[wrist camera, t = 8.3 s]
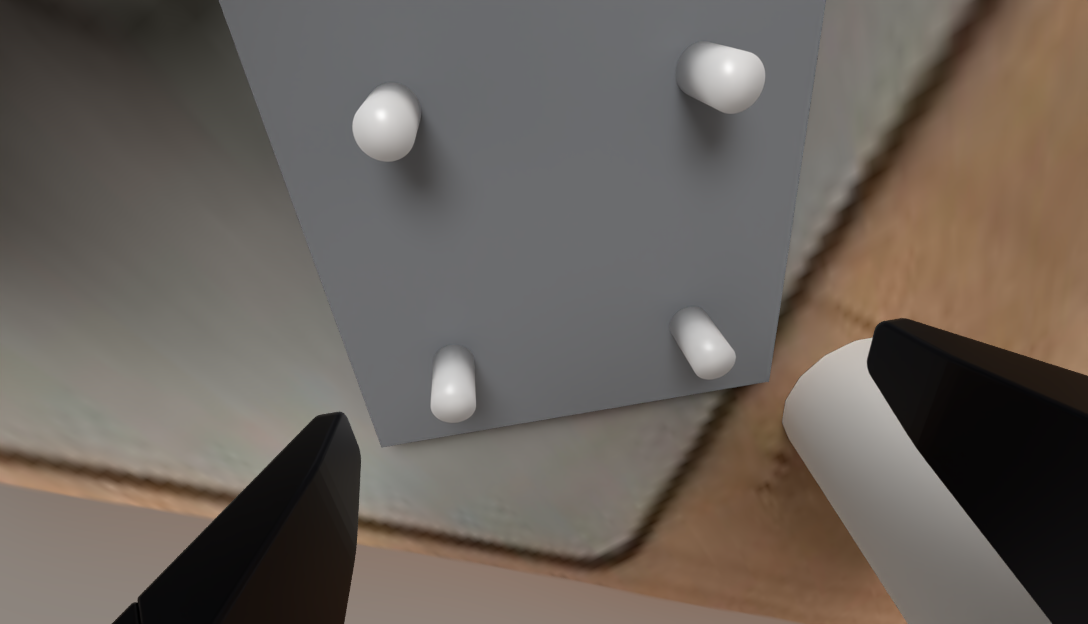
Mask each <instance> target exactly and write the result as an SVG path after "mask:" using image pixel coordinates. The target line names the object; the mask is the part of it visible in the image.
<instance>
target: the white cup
mask: <svg viewBox="0 0 1088 624" xmlns="http://www.w3.org/2000/svg"><path fill="white" fill-rule="evenodd" d="M871 342H872V338H868V339H862V340H857V341H854V342H852V343H850V344H847V345H845V346H843V347H841V348H839V349H837V350H835V351H833V352H831V353H829V354H827V355H825V356H824V357H823V358H821V359H820V360H819V361H818V362H817V363H816V364H815V365H813V366H812V367H811V368H810V369H809V370H808V371H806V372H805V373H804V374H803V375H802V376H801V377H800V378H799V380H798V381H797V383H796V385H795V386H794V388H793V389H792V391H791V393H790V394H789V396H788V397H787V399H786V401H785V407H784V413H783V419H782V424H783V426H784V428H785V431H786V433H787V436H788V438H789V440H790V442H791V443H792V444H793V446H794V448H795V449H796V451H797V452H798V454H799V455H800V457H801V458H802V460H803V462H804V463H805V465H806V466H807V468H808V469H809V471H810V472H811V474H812V476H813V477H814V479H815V480H816V482H817V483H818V485H819V486H820V488H821V490H822V491H823V493H824V494H825V496H826V497H827V499H828V500H829V502H830V504H831V505H832V507H833V508H834V510H835V511H836V513H837V514H838V516H839V518H840V519H841V521H842V522H843V524H844V525H845V527H846V528H847V530H848V532H849V533H850V535H851V536H852V538H853V539H854V541H855V542H856V544H857V546H858V547H859V549H860V550H861V552H862V553H863V555H864V556H865V558H866V560H867V561H868V563H869V564H870V566H871V567H872V569H873V570H874V572H875V574H876V575H877V577H878V578H879V580H880V581H881V583H882V584H883V586H884V587H885V589H886V591H887V592H888V594H889V595H890V597H891V598H892V600H893V601H894V603H895V605H896V606H897V608H898V609H899V611H900V612H901V614H902V615H903V617H904V619H905V620H906V622H907V623H908V624H1052V623H1051V622H1050V620H1049V619H1048V618H1047V617H1046V615H1045V614H1044V613H1043V611H1042V610H1041V609H1040V608H1039V606H1038V605H1037V604H1036V602H1035V601H1034V600H1033V599H1032V597H1031V596H1030V595H1029V593H1028V592H1027V591H1026V590H1025V588H1024V587H1023V586H1022V584H1021V583H1020V582H1019V581H1018V579H1017V578H1016V577H1015V575H1014V574H1013V573H1012V572H1011V570H1010V569H1009V568H1008V566H1007V565H1006V564H1005V563H1004V561H1003V560H1002V559H1001V557H1000V556H999V555H998V553H997V552H996V551H995V550H994V548H993V547H992V546H991V544H990V543H989V542H988V541H987V539H986V538H985V537H984V535H983V534H982V533H981V532H980V530H979V529H978V528H977V526H976V525H975V524H974V523H973V521H972V520H971V519H970V517H969V516H968V515H967V514H966V512H965V511H964V510H963V508H962V507H961V506H960V505H959V503H958V502H957V501H956V499H955V498H954V497H953V496H952V494H951V493H950V492H949V490H948V489H947V488H946V486H945V485H944V484H943V483H942V481H941V480H940V479H939V477H938V476H937V475H936V474H935V472H934V471H933V470H932V468H931V467H930V466H929V465H928V463H927V462H926V461H925V459H924V458H923V457H922V455H921V454H920V453H919V451H918V450H917V449H916V447H915V446H914V444H913V443H912V441H911V440H910V438H909V437H908V435H907V433H906V432H905V430H904V429H903V427H902V425H901V424H900V422H899V421H898V419H897V417H896V416H895V414H894V413H893V411H892V409H891V408H890V406H889V405H888V403H887V402H886V400H885V398H884V397H883V395H882V394H881V392H880V390H879V389H878V387H877V386H876V384H875V382H874V381H873V379H872V378H871V376H870V374H869V372H868V369H867V357H868V353H869V350H870V346H871Z"/></svg>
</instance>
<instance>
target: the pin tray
mask: <svg viewBox="0 0 1088 624" xmlns="http://www.w3.org/2000/svg"><path fill="white" fill-rule="evenodd" d="M219 3H220V5H221V8H222V11H223V14H224V16H225V19H226V22H227V25H228V27H229V30H230V33H231V36H232V38H233V41H234V44H235V46H236V49H237V52H238V55H239V57H240V60H241V63H242V66H243V68H244V71H245V74H246V77H247V79H248V82H249V85H250V88H251V90H252V93H253V96H254V99H255V101H256V104H257V107H258V110H259V112H260V115H261V118H262V121H263V123H264V126H265V129H266V132H267V134H268V137H269V140H270V143H271V145H272V148H273V151H274V154H275V156H276V159H277V162H278V165H279V167H280V170H281V173H282V176H283V178H284V181H285V184H286V187H287V189H288V192H289V195H290V198H291V200H292V203H293V206H294V209H295V211H296V214H297V217H298V220H299V222H300V225H301V228H302V230H303V233H304V236H305V239H306V241H307V244H308V247H309V250H310V252H311V255H312V258H313V261H314V263H315V266H316V269H317V272H318V274H319V277H320V280H321V283H322V285H323V288H324V291H325V294H326V296H327V299H328V302H329V305H330V307H331V310H332V313H333V316H334V318H335V321H336V324H337V327H338V329H339V332H340V335H341V338H342V340H343V343H344V346H345V349H346V351H347V354H348V357H349V360H350V362H351V365H352V368H353V371H354V373H355V376H356V379H357V382H358V384H359V387H360V390H361V393H362V395H363V398H364V401H365V404H366V406H367V409H368V412H369V415H370V417H371V420H372V423H373V425H374V428H375V431H376V434H377V436H378V439H379V442H380V445H381V447H387V446H393V445H398V444H404V443H410V442H416V441H422V440H428V439H434V438H440V437H446V436H451V435H457V434H463V433H469V432H475V431H481V430H487V429H493V428H498V427H504V426H510V425H516V424H522V423H528V422H534V421H540V420H545V419H551V418H557V417H563V416H569V415H575V414H581V413H587V412H592V411H598V410H604V409H610V408H616V407H622V406H628V405H634V404H640V403H645V402H651V401H657V400H663V399H669V398H675V397H681V396H687V395H692V394H698V393H704V392H710V391H716V390H722V389H728V388H734V387H739V386H745V385H751V384H757V383H763V382H769V378H770V371H771V364H772V357H773V351H774V344H775V337H776V331H777V324H778V317H779V311H780V304H781V297H782V291H783V284H784V277H785V271H786V264H787V257H788V251H789V244H790V237H791V231H792V224H793V217H794V210H795V204H796V197H797V190H798V184H799V177H800V170H801V164H802V157H803V150H804V144H805V137H806V130H807V124H808V117H809V110H810V104H811V97H812V90H813V83H814V77H815V70H816V63H817V57H818V50H819V43H820V37H821V30H822V23H823V17H824V10H825V3H826V0H219Z"/></svg>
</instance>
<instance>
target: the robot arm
mask: <svg viewBox="0 0 1088 624" xmlns="http://www.w3.org/2000/svg"><path fill="white" fill-rule="evenodd" d="M867 369H868V372H869V374H870V376H871V378H872V379H873V381H874V382H875V384H876V386H877V387H878V389H879V390H880V392H881V394H882V395H883V397H884V398H885V400H886V402H887V403H888V405H889V406H890V408H891V409H892V411H893V413H894V414H895V416H896V417H897V419H898V421H899V422H900V424H901V425H902V427H903V429H904V430H905V432H906V433H907V435H908V437H909V438H910V440H911V441H912V443H913V444H914V446H915V447H916V449H917V450H918V451H919V453H920V454H921V455H922V457H923V458H924V459H925V461H926V462H927V463H928V465H929V466H930V467H931V468H932V470H933V471H934V472H935V474H936V475H937V476H938V477H939V479H940V480H941V481H942V483H943V484H944V485H945V486H946V488H947V489H948V490H949V492H950V493H951V494H952V496H953V497H954V498H955V499H956V501H957V502H958V503H959V505H960V506H961V507H962V508H963V510H964V511H965V512H966V514H967V515H968V516H969V517H970V519H971V520H972V521H973V523H974V524H975V525H976V526H977V528H978V529H979V530H980V532H981V533H982V534H983V535H984V537H985V538H986V539H987V541H988V542H989V543H990V544H991V546H992V547H993V548H994V550H995V551H996V552H997V553H998V555H999V556H1000V557H1001V559H1002V560H1003V561H1004V563H1005V564H1006V565H1007V566H1008V568H1009V569H1010V570H1011V572H1012V573H1013V574H1014V575H1015V577H1016V578H1017V579H1018V581H1019V582H1020V583H1021V584H1022V586H1023V587H1024V588H1025V590H1026V591H1027V592H1028V593H1029V595H1030V596H1031V597H1032V599H1033V600H1034V601H1035V602H1036V604H1037V605H1038V606H1039V608H1040V609H1041V610H1042V611H1043V613H1044V614H1045V615H1046V617H1047V618H1048V619H1049V620H1050V622H1051V623H1052V624H1088V376H1087V375H1084V374H1080V373H1077V372H1074V371H1071V370H1068V369H1065V368H1061V367H1058V366H1055V365H1052V364H1049V363H1046V362H1043V361H1039V360H1036V359H1033V358H1030V357H1027V356H1024V355H1020V354H1017V353H1014V352H1011V351H1008V350H1005V349H1001V348H998V347H995V346H992V345H989V344H986V343H982V342H979V341H976V340H973V339H970V338H967V337H964V336H960V335H957V334H954V333H951V332H948V331H945V330H941V329H938V328H935V327H932V326H929V325H926V324H922V323H919V322H916V321H913V320H910V319H906V318H900V319H894V320H888V321H883V322H881V323H879V324H878V325H877V326H876V328H875V331H874V334H873V338H872V342H871V346H870V350H869V353H868V357H867ZM360 470H361V455H360V450H359V446H358V444H357V441H356V439H355V436H354V433H353V431H352V428H351V426H350V423H349V421H348V418H347V417H346V415H345V414H344V413H342V412H334V413H328V414H322V415H318V416H316V417H315V418H314V419H313V420H312V421H311V422H310V423H309V424H308V425H307V426H306V427H305V428H304V429H303V430H302V431H301V432H300V433H299V434H298V435H297V436H296V437H295V438H294V439H293V440H292V441H291V442H290V443H289V444H288V445H287V446H286V447H285V448H284V449H283V450H282V451H281V452H280V453H279V454H278V455H277V456H276V457H275V458H274V459H273V460H272V461H271V462H270V463H269V464H268V466H267V467H266V468H265V469H264V470H263V471H262V472H261V473H260V474H259V475H258V476H257V477H256V478H255V479H254V480H253V481H252V482H251V483H250V484H249V485H248V486H247V487H246V488H245V489H244V490H243V491H242V492H241V493H240V494H239V495H238V496H237V497H236V498H235V499H234V500H233V501H232V502H231V503H230V504H229V505H228V506H227V507H226V508H225V509H224V510H223V511H222V512H221V513H220V514H219V515H218V516H217V517H216V518H215V519H214V520H213V521H212V523H211V524H210V525H209V526H208V527H207V528H206V529H205V530H204V531H203V532H202V533H201V534H200V535H199V536H198V537H197V538H196V539H195V540H194V541H193V542H192V543H191V544H190V545H189V546H188V547H187V548H186V549H185V550H184V551H183V552H182V553H181V554H180V555H179V556H178V557H177V558H176V559H175V560H174V561H173V562H172V563H171V564H170V565H169V566H168V567H167V568H166V569H165V570H164V571H163V573H161V574H160V575H159V577H157V579H156V580H155V581H154V582H153V583H152V584H151V585H150V586H149V587H148V588H147V589H146V590H145V591H144V592H143V593H142V594H141V595H140V596H139V597H138V603H136V602H134V603H132V604H131V605H130V606H129V607H128V608H127V609H126V610H125V611H124V612H123V613H122V614H121V615H120V616H119V617H118V618H117V619H116V620H115V621H114V622H113V623H112V624H344V621H345V615H346V609H347V603H348V597H349V592H350V586H351V580H352V574H353V567H354V561H355V554H356V545H357V530H358V510H359V490H360Z"/></svg>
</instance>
